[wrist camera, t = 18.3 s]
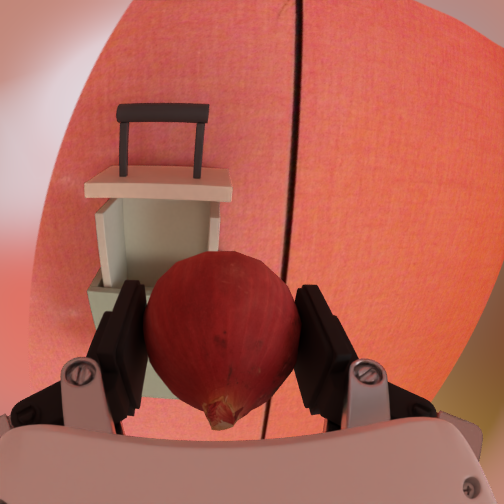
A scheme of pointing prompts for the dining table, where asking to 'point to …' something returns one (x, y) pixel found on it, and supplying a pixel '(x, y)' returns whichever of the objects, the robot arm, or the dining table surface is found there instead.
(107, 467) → the robot arm
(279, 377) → the onion
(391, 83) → the dining table surface
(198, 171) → the drawer
